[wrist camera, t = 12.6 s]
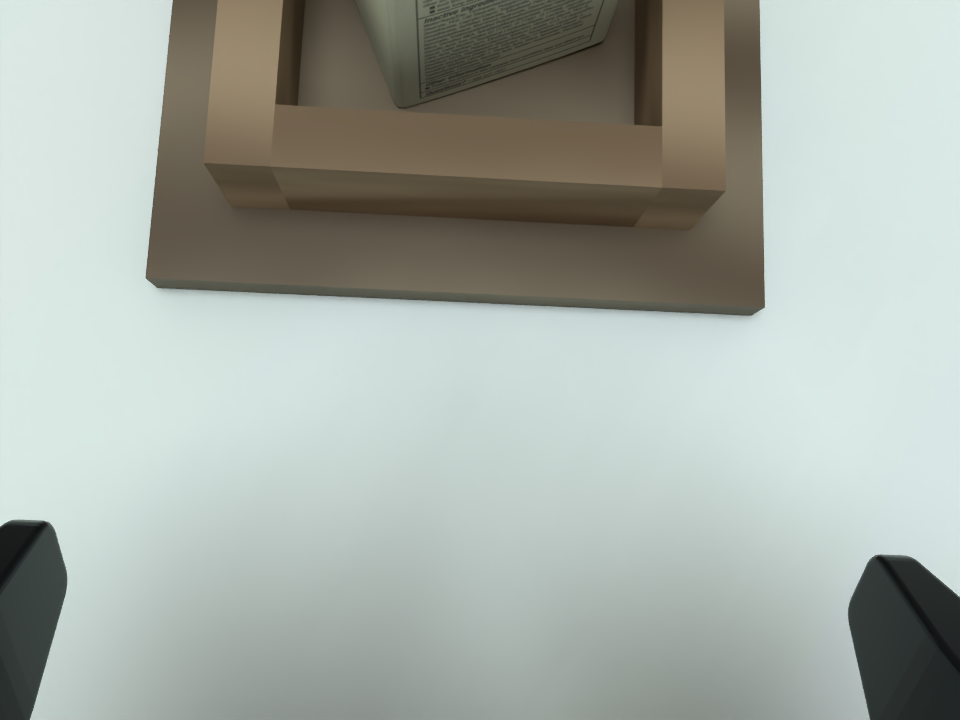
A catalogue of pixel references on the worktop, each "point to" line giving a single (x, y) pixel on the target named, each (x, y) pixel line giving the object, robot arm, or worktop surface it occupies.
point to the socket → (464, 164)
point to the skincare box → (474, 39)
